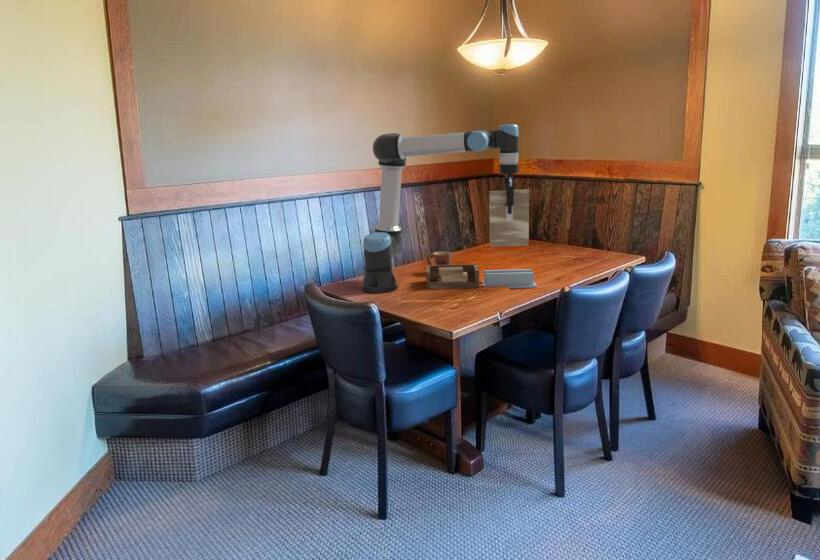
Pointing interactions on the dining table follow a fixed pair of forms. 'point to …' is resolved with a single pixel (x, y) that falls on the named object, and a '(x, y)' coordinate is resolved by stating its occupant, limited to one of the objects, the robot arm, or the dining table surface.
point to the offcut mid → (455, 277)
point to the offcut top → (450, 271)
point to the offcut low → (451, 281)
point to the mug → (440, 258)
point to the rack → (433, 277)
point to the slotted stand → (509, 278)
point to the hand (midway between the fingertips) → (509, 220)
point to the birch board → (509, 231)
